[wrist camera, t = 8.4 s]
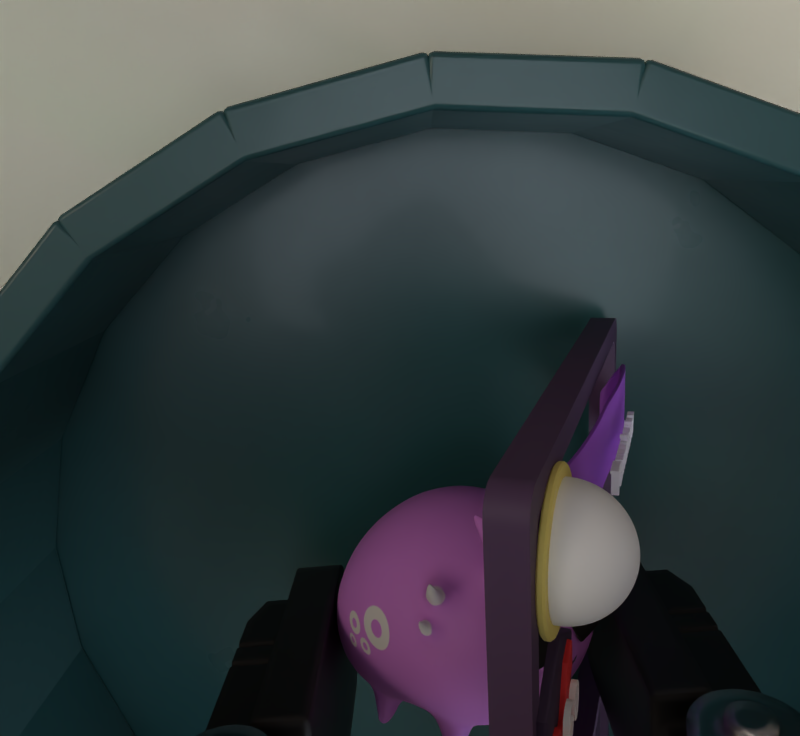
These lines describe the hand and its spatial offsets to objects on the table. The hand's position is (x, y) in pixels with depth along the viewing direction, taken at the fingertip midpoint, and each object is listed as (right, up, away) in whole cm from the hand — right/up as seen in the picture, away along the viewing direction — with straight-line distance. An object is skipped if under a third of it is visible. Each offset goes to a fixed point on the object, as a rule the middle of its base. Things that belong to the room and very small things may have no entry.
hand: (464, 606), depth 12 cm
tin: (0, 0, +1) cm, 1 cm away
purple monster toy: (0, 0, +1) cm, 1 cm away
